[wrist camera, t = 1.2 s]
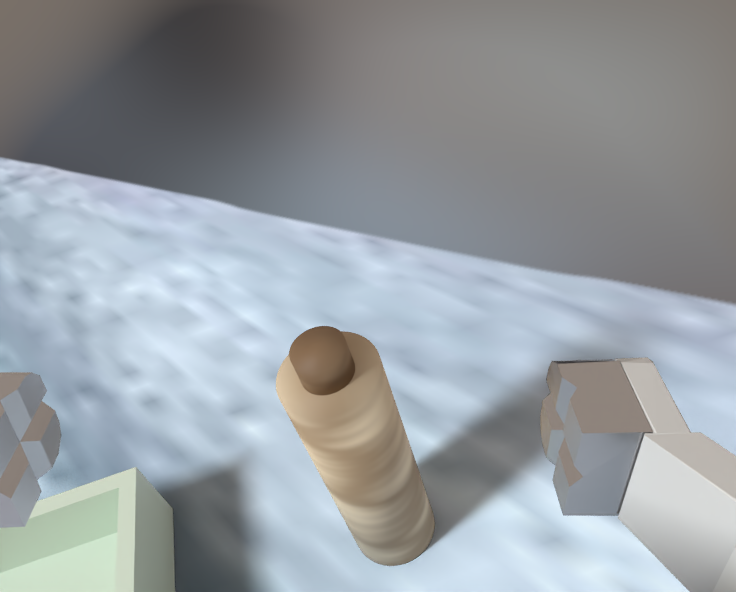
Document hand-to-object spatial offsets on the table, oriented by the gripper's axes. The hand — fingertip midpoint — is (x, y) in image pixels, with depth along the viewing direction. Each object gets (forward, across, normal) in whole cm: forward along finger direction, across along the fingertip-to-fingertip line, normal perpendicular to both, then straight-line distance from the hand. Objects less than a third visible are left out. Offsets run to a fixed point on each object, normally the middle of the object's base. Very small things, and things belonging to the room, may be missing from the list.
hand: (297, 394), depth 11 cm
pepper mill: (+16, -2, +25) cm, 30 cm away
